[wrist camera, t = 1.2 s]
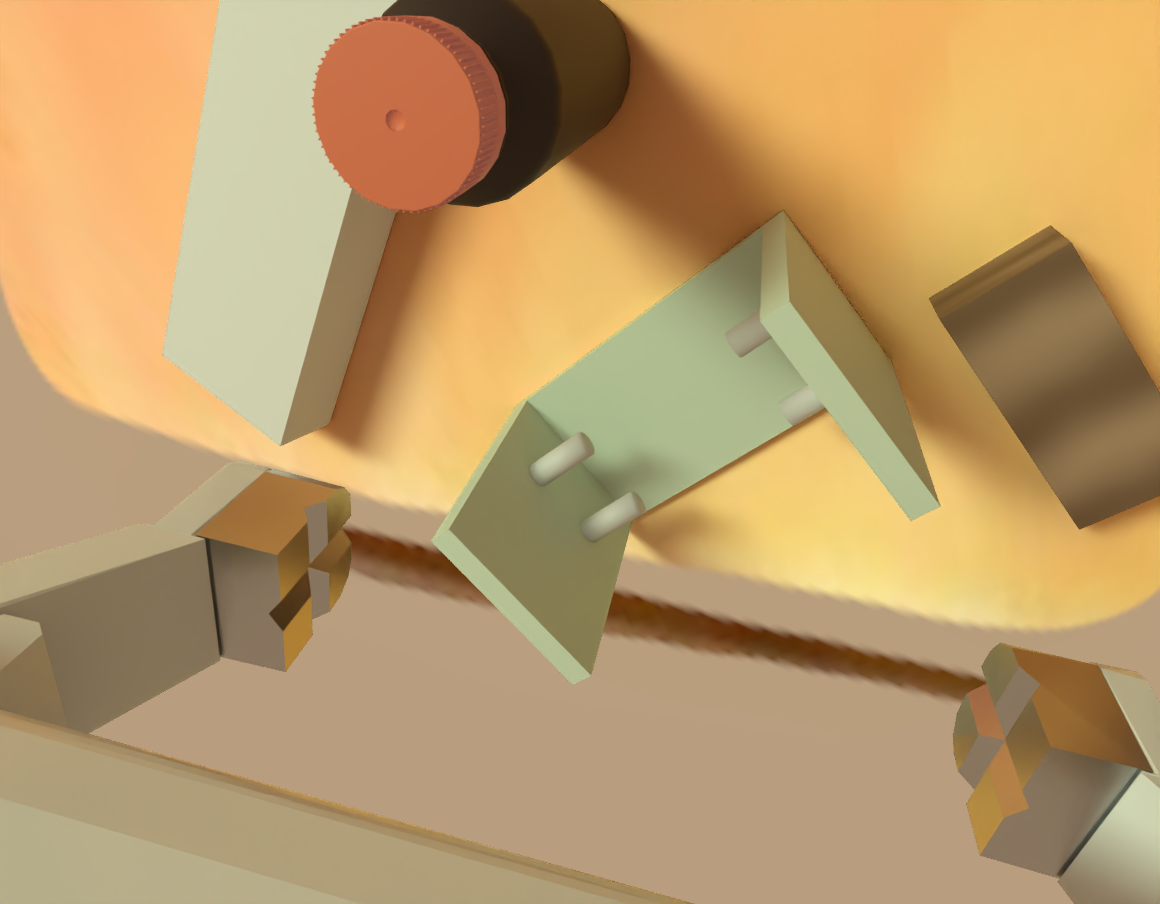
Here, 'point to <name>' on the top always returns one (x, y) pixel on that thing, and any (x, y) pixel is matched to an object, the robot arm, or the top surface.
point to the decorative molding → (272, 225)
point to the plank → (1060, 374)
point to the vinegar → (466, 97)
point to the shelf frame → (670, 432)
